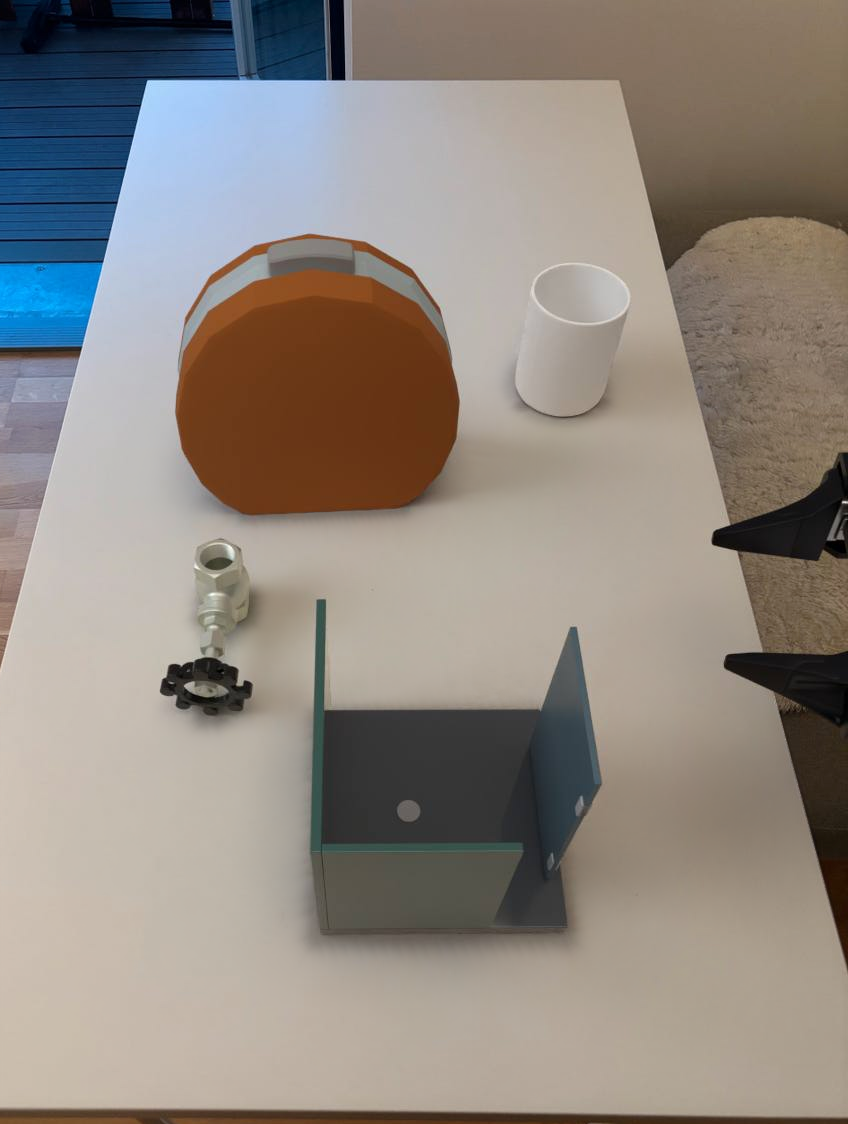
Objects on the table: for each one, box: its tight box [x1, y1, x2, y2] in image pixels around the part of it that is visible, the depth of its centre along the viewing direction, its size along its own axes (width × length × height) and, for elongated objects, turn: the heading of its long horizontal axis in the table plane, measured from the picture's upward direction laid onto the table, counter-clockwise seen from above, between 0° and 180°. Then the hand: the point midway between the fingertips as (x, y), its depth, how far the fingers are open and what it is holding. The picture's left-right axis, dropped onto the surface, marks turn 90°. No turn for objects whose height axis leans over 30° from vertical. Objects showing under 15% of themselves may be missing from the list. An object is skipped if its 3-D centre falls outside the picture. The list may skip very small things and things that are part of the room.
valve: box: [159, 537, 254, 717], centre depth 69 cm, size 7×7×12 cm
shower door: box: [529, 626, 603, 878], centre depth 57 cm, size 2×10×15 cm, turn 1°
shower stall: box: [309, 598, 569, 935], centre depth 58 cm, size 16×16×15 cm
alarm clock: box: [174, 233, 461, 516], centre depth 72 cm, size 22×10×23 cm, turn 94°
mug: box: [514, 262, 632, 418], centre depth 84 cm, size 9×12×11 cm
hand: (718, 596), depth 55 cm, fingers open, 9 cm apart
